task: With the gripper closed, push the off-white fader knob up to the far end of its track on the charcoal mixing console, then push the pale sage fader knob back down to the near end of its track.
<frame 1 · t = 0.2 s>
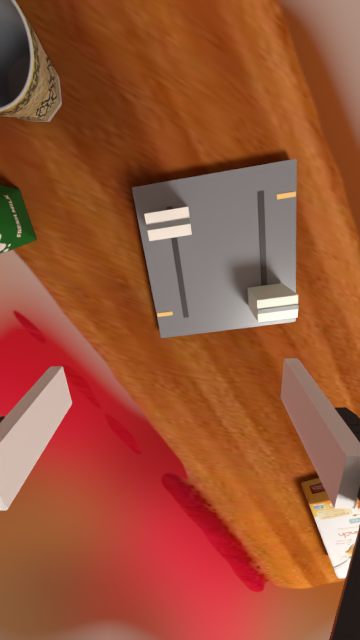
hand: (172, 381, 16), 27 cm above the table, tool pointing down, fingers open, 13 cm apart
console: (218, 257, 40), on the table
fader b: (271, 301, 37), point 5 cm above the table, slide at 6.0 cm
fader a: (170, 223, 33), point 5 cm above the table, slide at -6.0 cm
ceramic cup: (35, 76, 33), on the table
cereal box: (358, 509, 60), on the table
milk carton: (6, 219, 39), on the table
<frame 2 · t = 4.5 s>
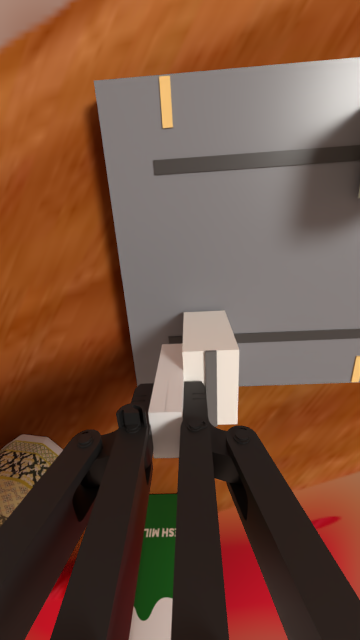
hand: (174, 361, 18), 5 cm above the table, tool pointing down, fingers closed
console: (269, 254, 20), on the table
fader a: (207, 362, 18), point 5 cm above the table, slide at -5.2 cm, touching gripper
ceramic cup: (24, 453, 29), on the table
milk carton: (168, 512, 32), on the table
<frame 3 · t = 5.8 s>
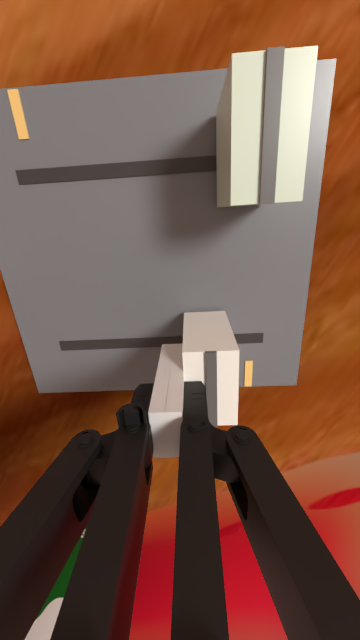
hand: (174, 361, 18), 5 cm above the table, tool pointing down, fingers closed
console: (155, 260, 21), on the table
fader b: (253, 149, 13), point 5 cm above the table, slide at 6.0 cm
fader a: (207, 363, 18), point 5 cm above the table, slide at 3.5 cm, touching gripper
milk carton: (97, 513, 33), on the table
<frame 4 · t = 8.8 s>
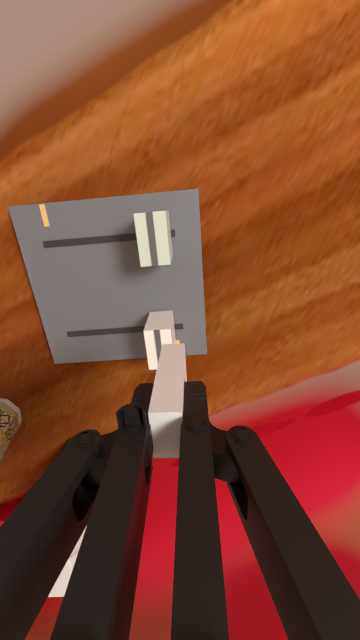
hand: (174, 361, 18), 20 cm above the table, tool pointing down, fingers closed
console: (120, 283, 36), on the table
fader b: (155, 237, 29), point 5 cm above the table, slide at 6.0 cm
fader a: (161, 338, 33), point 5 cm above the table, slide at 5.3 cm
milk carton: (93, 451, 48), on the table
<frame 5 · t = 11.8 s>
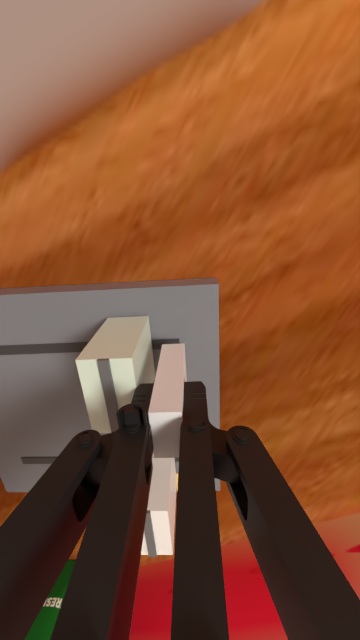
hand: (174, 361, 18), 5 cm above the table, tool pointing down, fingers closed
console: (99, 393, 25), on the table
fader b: (123, 369, 18), point 5 cm above the table, slide at 4.4 cm, touching gripper
fader a: (154, 494, 22), point 5 cm above the table, slide at 5.3 cm
milk carton: (66, 573, 37), on the table
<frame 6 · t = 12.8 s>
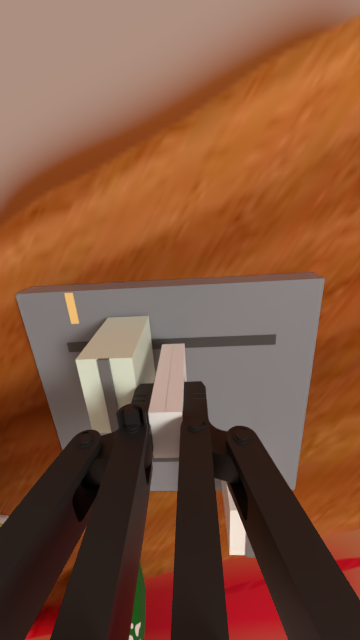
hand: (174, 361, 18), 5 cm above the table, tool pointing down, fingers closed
console: (176, 391, 25), on the table
fader b: (123, 369, 18), point 5 cm above the table, slide at -2.8 cm, touching gripper
fader a: (243, 493, 22), point 5 cm above the table, slide at 5.3 cm
milk carton: (118, 573, 37), on the table
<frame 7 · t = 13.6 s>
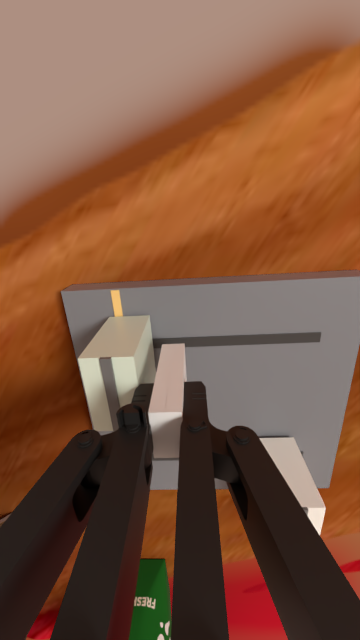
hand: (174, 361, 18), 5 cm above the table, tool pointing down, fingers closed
console: (212, 389, 25), on the table
fader b: (124, 368, 18), point 5 cm above the table, slide at -6.1 cm, touching gripper
fader a: (285, 491, 22), point 5 cm above the table, slide at 5.3 cm
milk carton: (142, 572, 37), on the table
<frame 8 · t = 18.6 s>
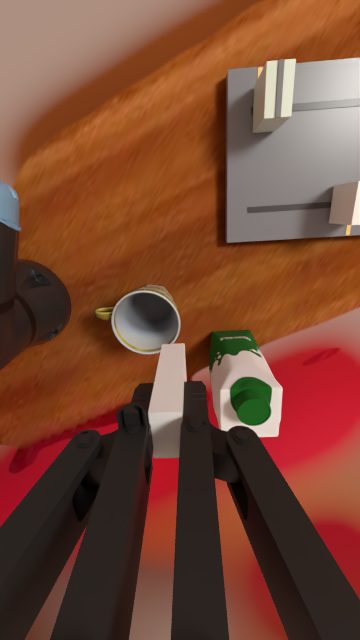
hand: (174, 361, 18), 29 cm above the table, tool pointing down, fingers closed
console: (302, 161, 39), on the table
fader b: (271, 100, 32), point 5 cm above the table, slide at -6.3 cm
fader a: (354, 203, 36), point 5 cm above the table, slide at 5.3 cm
ceramic cup: (146, 300, 48), on the table
milk carton: (230, 347, 51), on the table
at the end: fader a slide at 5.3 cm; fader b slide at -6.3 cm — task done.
